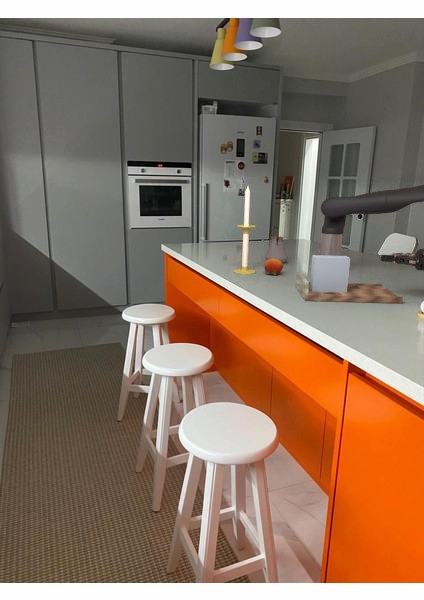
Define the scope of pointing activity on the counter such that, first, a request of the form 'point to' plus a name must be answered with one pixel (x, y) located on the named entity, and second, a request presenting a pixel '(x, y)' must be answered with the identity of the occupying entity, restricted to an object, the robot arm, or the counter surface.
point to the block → (329, 273)
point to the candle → (245, 237)
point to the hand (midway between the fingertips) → (381, 258)
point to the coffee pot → (276, 250)
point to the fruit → (273, 266)
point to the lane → (348, 293)
